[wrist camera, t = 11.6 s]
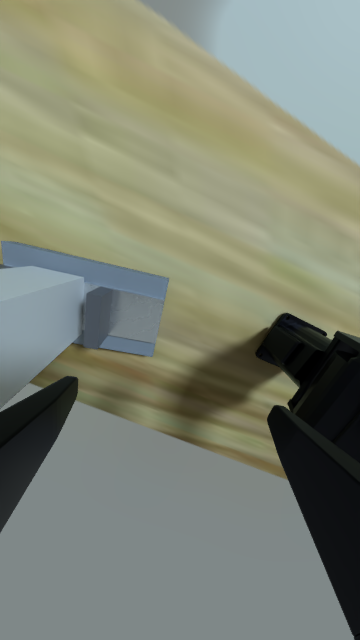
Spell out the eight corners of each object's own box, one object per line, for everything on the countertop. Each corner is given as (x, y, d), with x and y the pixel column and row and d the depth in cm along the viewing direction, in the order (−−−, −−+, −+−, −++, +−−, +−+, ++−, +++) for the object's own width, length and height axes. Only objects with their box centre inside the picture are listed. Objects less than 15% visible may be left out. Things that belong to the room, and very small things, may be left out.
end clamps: (113, 289, 17) (102, 296, 14) (108, 334, 19) (97, 349, 16) (0, 264, 16) (-37, 267, 13) (5, 315, 17) (-26, 328, 15)
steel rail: (164, 299, 18) (164, 300, 18) (155, 341, 20) (155, 343, 19) (3, 264, 16) (-1, 264, 16) (8, 314, 18) (5, 315, 17)
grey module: (84, 277, 16) (-125, 337, 5) (81, 333, 19) (-70, 473, 7) (30, 265, 16) (-355, 302, 4) (33, 325, 18) (-221, 461, 6)
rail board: (168, 278, 19) (168, 280, 17) (153, 350, 22) (152, 356, 20) (15, 241, 17) (1, 240, 15) (21, 326, 20) (10, 332, 18)
